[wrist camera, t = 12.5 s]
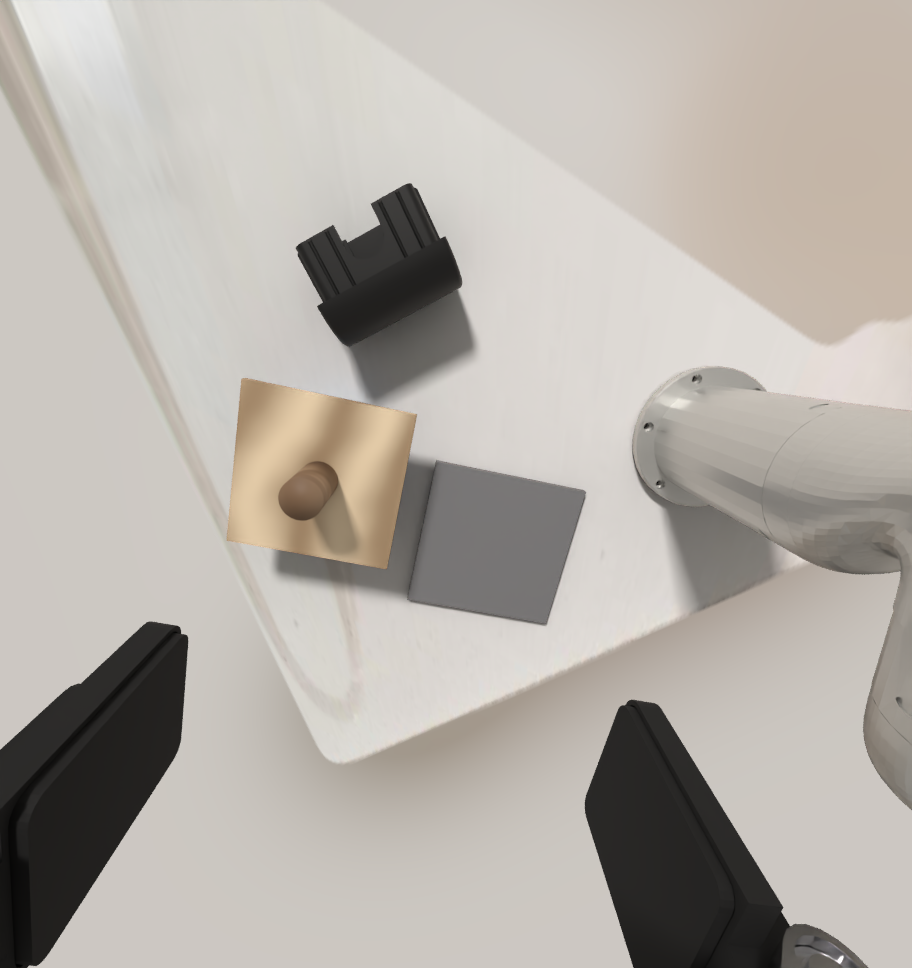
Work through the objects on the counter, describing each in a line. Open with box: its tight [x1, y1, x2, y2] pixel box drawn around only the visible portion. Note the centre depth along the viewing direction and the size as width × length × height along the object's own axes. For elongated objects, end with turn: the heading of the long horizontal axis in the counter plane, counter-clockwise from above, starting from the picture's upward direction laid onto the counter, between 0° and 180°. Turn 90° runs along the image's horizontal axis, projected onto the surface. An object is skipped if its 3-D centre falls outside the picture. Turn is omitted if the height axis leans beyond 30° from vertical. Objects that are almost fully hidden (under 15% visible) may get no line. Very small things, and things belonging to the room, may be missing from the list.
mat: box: [407, 461, 586, 624], centre depth 45 cm, size 14×14×1 cm
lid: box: [227, 378, 417, 569], centre depth 35 cm, size 13×13×6 cm
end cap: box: [296, 183, 462, 346], centre depth 35 cm, size 10×7×7 cm
